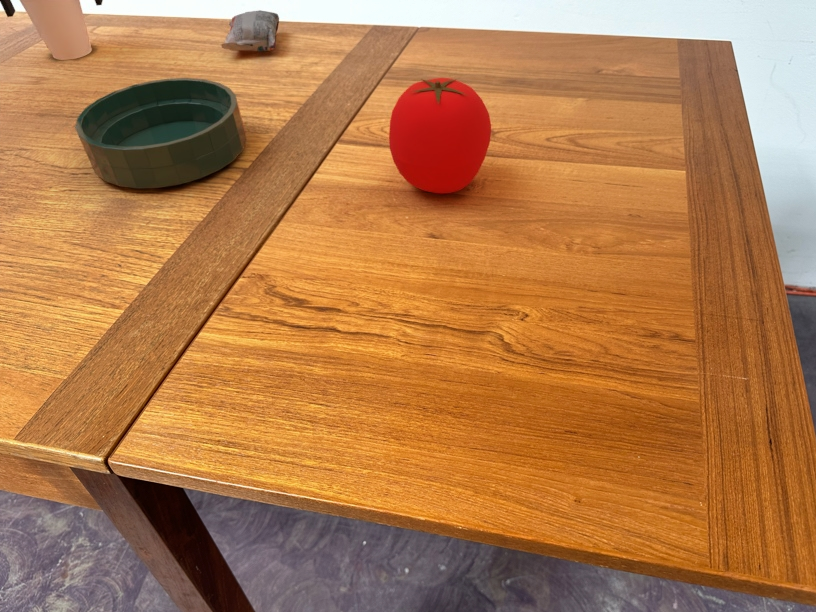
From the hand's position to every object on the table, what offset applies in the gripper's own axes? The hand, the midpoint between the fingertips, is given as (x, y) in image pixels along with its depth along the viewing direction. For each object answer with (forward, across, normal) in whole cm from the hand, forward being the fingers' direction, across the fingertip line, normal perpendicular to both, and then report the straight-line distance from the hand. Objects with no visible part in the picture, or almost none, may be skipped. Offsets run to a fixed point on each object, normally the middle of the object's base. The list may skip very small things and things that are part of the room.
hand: (56, 8), depth 109 cm
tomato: (+8, +49, -60) cm, 78 cm away
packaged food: (+8, +30, -8) cm, 32 cm away
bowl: (+7, +17, -42) cm, 46 cm away
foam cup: (+7, 0, 0) cm, 7 cm away
